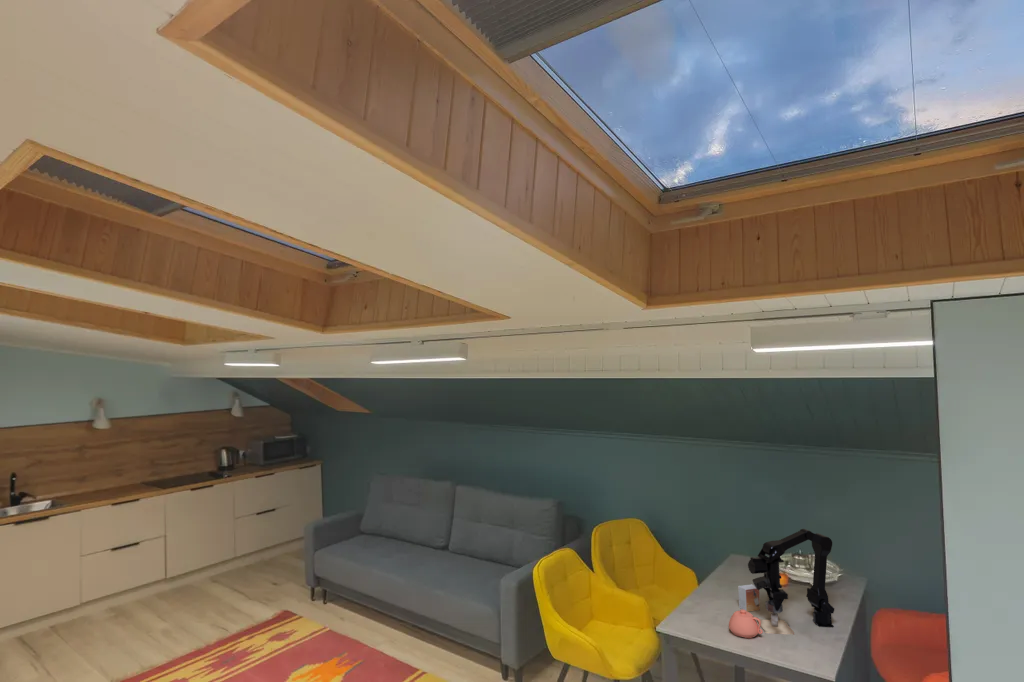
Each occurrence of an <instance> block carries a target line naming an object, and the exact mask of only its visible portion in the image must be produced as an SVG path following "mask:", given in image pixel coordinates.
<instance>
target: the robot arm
mask: <svg viewBox="0 0 1024 682" xmlns="http://www.w3.org/2000/svg"><path fill="white" fill-rule="evenodd" d="M806 541H811V547H812V549H813V553H814V564H813V579H812V586H811V587H810V588H809V587H807V588H806V590H807V591H806V597H807V601H808V602H809V604H810V605H811V607H812V608H813V611H812V618H813V619H812V621H813V623H814V624H816V625H817V626H818V627H823V628H824V627H826V628H827V627H828V628H829V627H830V628H833V627H834V625H833V621H832V619H833V617H832V614H834V612H835V608H834V607H833V606H832V604H830V602H829V601H830V600H829V595H828V593H827V590H826V578H827V562H828V556H829V555H830V553H831V552H832V547H833V540H832V539H831V537H829V536H826V535H823V534H821V533H817V532H816V533H814V532H812V531H810V530H809V529H806V528H802V529H800V530H798V531H796V532H794V533H792V534H790V535H788V536H786V537H783V538H781V539H779V540H776V539H775V540H770V541H767V542H764V543H763V544H762V548H761V550H760V551H759V553H758V555H757V556H755V557H753V556H752V557H750V559H749V561H748V563H747V568H748V571H749V572H750V574H752V575H756V574H763V575H761V576H759V577H756V578H752V583H753V585H754V586H755V587H756V588H757V590H759V591H760V590H762V589H764V591H765V592H766V595H767V597H768V600H773V601H774V606H775V610H776V611H778V610H779V608H780V606H781V604H782V605H783V603H784V601H785V600H789V594H788V593H787V592H786V591H785V590H784V588H783V586H782V584H781V579H782V576H781V574H780V573H781V572H780V571H781V570H780V563H784V562H785V560H783V559H782V556H783V555H784V554H785V552H786V551H788V550H789V549H792V548H793V547H796V546H798V545H799V544H802V543H805V542H806Z"/></svg>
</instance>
